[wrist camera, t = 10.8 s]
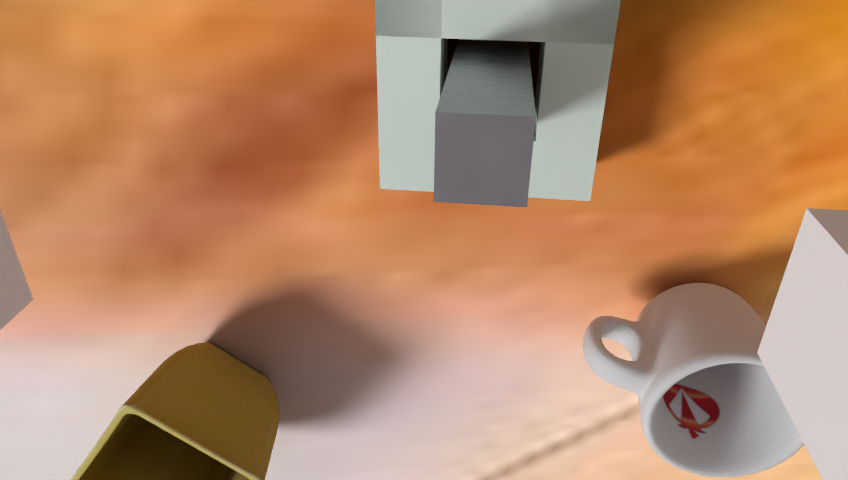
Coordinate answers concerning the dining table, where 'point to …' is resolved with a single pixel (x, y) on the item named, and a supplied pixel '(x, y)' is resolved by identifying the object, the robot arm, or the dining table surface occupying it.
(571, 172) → the hole block
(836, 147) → the dining table surface
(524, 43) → the peg
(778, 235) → the dining table surface
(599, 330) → the cup
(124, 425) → the flower pot
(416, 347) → the dining table surface
